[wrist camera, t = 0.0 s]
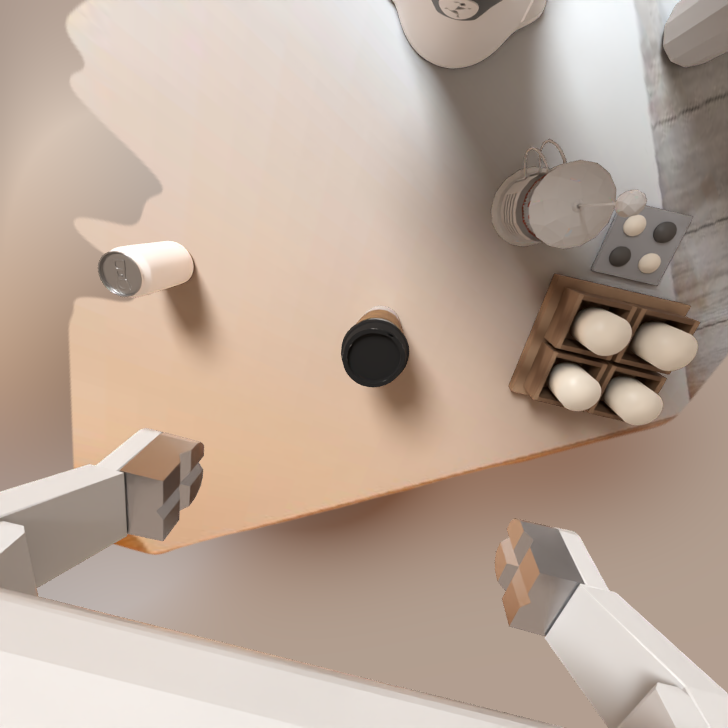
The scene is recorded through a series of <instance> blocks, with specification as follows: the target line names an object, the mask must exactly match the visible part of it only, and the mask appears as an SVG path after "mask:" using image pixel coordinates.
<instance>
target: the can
mask: <svg viewBox="0 0 728 728" xmlns="http://www.w3.org/2000/svg"><path fill="white" fill-rule="evenodd" d="M98 273H99V276H100V279H101V281H102V283H103V284H104V285H105V287H106V288H107V289H108V290H109V291H111V292H112V293H114V294H116V295H118V296H121V297H133V298H136V297H141V296H145V295H148V294H152V293H155V292H158V291H161V290H164V289H167V288H170V287H173V286H177V285H180V284H182V283H185V282H186V281H188V280H189V279H190V277H191V276H192V273H193V261H192V258H191V256H190V254H189V252H188V251H187V250H186V249H185V248H184V247H183V246H182V245H180V244H179V243H176V242H173V241H162V242H153V243H145V244H136V245H128V246H121V247H117V248H114V249H112V250H111V251H110V252H107V253H105V254H104V255H103V256H102V257H101V259H100V260H99V263H98Z"/></svg>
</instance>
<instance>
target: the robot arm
mask: <svg viewBox="0 0 728 728" xmlns="http://www.w3.org/2000/svg"><path fill="white" fill-rule="evenodd" d="M392 1H393V2H394V4H395V6H396V9H397V11H398V15H399V19H400V22H401V25H402V28H403V31H404V33H405V35H406V37H407V39H408V41H409V42H410V44H411V45H412V47H413V48H414V49H415V50H416V52H417V53H418V54H419V55H421V56H422V57H423V58H424V59H426V60H427V61H429V62H431V63H433V64H435V65H438V66H441V67H445V68H463V67H467V66H471V65H474V64H476V63H478V62H480V61H482V60H484V59H485V58H487V57H488V56H490V55H491V54H492V53H494V52H495V51H496V50H497V49H498V48H499V47H500V46H501V45H502V44H503V43H504V42H505V41H506V40H507V39H508V37H509V36H510V35H511V34H512V33H514V32H515V31H516V30H518V29H520V28H522V27H524V26H526V25H528V24H530V23H532V22H533V21H535V20H536V19H537V18H539V17H540V15H541V14H542V12H543V10H544V8H545V5H546V1H547V0H392ZM203 456H204V445H203V444H202V443H201V442H199V441H195V440H191V439H187V438H184V437H180V436H176V435H172V434H169V433H163V432H160V431H156V430H152V429H148V428H144V429H140V430H139V431H138V432H136V433H135V434H134V435H133V436H131V437H130V438H129V439H128V440H126V441H125V442H124V443H123V444H122V445H120V446H119V447H118V448H117V449H115V450H114V451H113V452H112V453H110V454H109V455H108V456H107V457H105V458H104V459H103V460H102V461H101V462H99V463H98V464H97V465H96V466H95V465H90V464H88V465H85V466H82V467H79V468H75V469H72V470H69V471H66V472H62V473H59V474H56V475H53V476H50V477H46V478H43V479H40V480H37V481H34V482H30V483H27V484H24V485H20V486H17V487H14V488H11V489H8V490H5V491H1V492H0V728H565V727H561V726H557V725H553V724H549V723H545V722H541V721H537V720H533V719H529V718H525V717H520V716H517V715H513V714H509V713H505V712H500V711H497V710H492V709H488V708H484V707H480V706H476V705H472V704H468V703H464V702H460V701H456V700H452V699H448V698H444V697H440V696H436V695H432V694H427V693H424V692H419V691H416V690H412V689H407V688H404V687H399V686H395V685H391V684H387V683H383V682H379V681H375V680H371V679H367V678H363V677H359V676H355V675H351V674H347V673H343V672H339V671H335V670H331V669H327V668H323V667H319V666H315V665H311V664H306V663H303V662H299V661H295V660H291V659H287V658H283V657H279V656H275V655H271V654H267V653H263V652H259V651H255V650H251V649H247V648H243V647H239V646H235V645H231V644H227V643H223V642H219V641H215V640H211V639H207V638H203V637H199V636H195V635H191V634H187V633H183V632H179V631H175V630H171V629H167V628H163V627H158V626H155V625H151V624H147V623H143V622H139V621H135V620H131V619H127V618H123V617H119V616H114V615H111V614H107V613H103V612H99V611H95V610H90V609H87V608H83V607H79V606H74V605H70V604H66V603H62V602H58V601H54V600H50V599H46V598H42V597H38V593H37V588H38V587H40V586H41V585H43V584H45V583H47V582H48V581H50V580H52V579H53V578H55V577H57V576H59V575H60V574H62V573H64V572H65V571H67V570H69V569H71V568H72V567H74V566H76V565H77V564H79V563H81V562H83V561H84V560H86V559H88V558H90V557H91V556H93V555H95V554H97V553H98V552H100V551H102V550H103V549H105V548H107V547H109V546H110V545H112V544H114V543H116V542H117V541H119V540H121V539H122V538H124V537H126V536H127V534H131V535H136V536H141V537H145V538H150V539H155V540H159V541H164V539H165V538H166V537H167V535H168V534H169V533H170V531H171V530H172V529H173V527H174V526H175V525H176V523H177V522H178V521H179V511H180V510H182V509H184V508H186V507H188V506H190V504H191V503H192V501H193V500H194V499H195V497H196V495H197V493H198V490H199V488H200V486H201V482H202V478H203V469H202V467H201V466H200V464H199V461H200V460H201V459H202V457H203ZM507 531H508V534H509V537H508V538H507V539H505V540H503V541H501V542H500V544H499V547H498V549H497V551H496V557H495V572H496V576H497V581H498V582H499V583H500V585H501V586H502V587H503V588H504V590H505V591H506V592H505V594H504V596H503V598H502V600H503V604H504V608H505V612H506V616H507V620H508V624H509V626H510V627H514V628H517V629H521V630H524V631H528V632H531V633H535V634H539V635H542V636H546V637H545V639H546V640H547V642H548V644H549V645H550V646H551V648H552V649H553V651H554V652H555V653H556V655H557V656H558V657H559V659H560V660H561V662H562V663H563V665H564V666H565V668H566V669H567V670H568V672H569V673H570V675H571V676H572V677H573V679H574V680H575V681H576V683H577V684H578V686H579V687H580V689H581V690H582V691H583V693H584V694H585V696H586V697H587V699H588V700H589V701H590V703H591V704H592V706H593V707H594V708H595V710H596V711H597V713H598V714H599V716H600V717H601V718H602V720H603V721H604V723H605V724H606V725H607V727H608V728H728V693H726V692H725V691H724V690H723V689H722V688H721V687H720V686H719V685H718V684H716V683H715V682H714V681H713V680H712V679H711V678H710V677H709V676H708V675H707V674H705V673H704V672H703V671H702V670H701V669H700V668H699V667H698V666H697V665H695V664H694V663H693V662H692V661H691V660H690V659H689V658H688V657H687V656H686V655H684V654H683V653H682V652H681V651H680V650H679V649H678V648H677V647H676V646H674V645H673V644H672V643H671V642H670V641H669V640H668V639H667V638H665V637H664V636H663V635H662V634H661V633H660V632H659V631H658V630H657V629H656V628H655V627H653V626H652V625H651V624H650V623H649V622H648V621H647V620H646V619H644V618H643V617H642V616H641V615H640V614H639V613H638V612H637V611H636V610H635V609H634V608H632V607H631V606H630V605H629V604H628V603H627V602H626V601H625V600H623V599H622V598H621V597H620V596H619V595H618V594H617V593H616V592H611V591H609V589H608V588H607V586H606V584H605V582H604V580H603V578H602V577H601V575H600V573H599V571H598V569H597V567H596V566H595V564H594V562H593V560H592V559H591V557H590V555H589V553H588V551H587V549H586V547H585V545H584V544H583V542H582V540H581V538H580V536H579V535H578V534H577V533H576V532H574V531H571V530H566V529H561V528H557V527H550V526H546V525H542V524H538V523H533V522H529V521H525V520H521V519H516V518H514V519H513V520H512V521H511V522H510V524H509V526H508V528H507Z"/></svg>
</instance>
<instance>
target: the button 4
mask: <svg viewBox="0 0 728 728" xmlns="http://www.w3.org/2000/svg"><path fill="white" fill-rule="evenodd" d="M629 348H630V350H631V351H632V352H633V353H634V354H636V355H637V356H639V357H641V358H642V359H644V360H646V361H647V362H649V363H650V364H652V365H654V366H655V367H657V368H659V369H661V370H664V371H674V370H678V369H681V368H683V367H685V366H686V365H688V364H689V363H690V362H691V361H692V360H693V359H694V357H695V355H696V353H697V350H698V343H697V341H696V339H695V338H694V337H693V336H692V335H691V334H689V333H686V332H684V331H682V330H679V329H677V328H675V327H672V326H670V325H668V324H665V323H663V322H660V321H648V322H645V323H642V324H641V325H639V326H638V328H637V330H636V332H635V333H634V335H633V337H632V339H631V341H630V343H629Z"/></svg>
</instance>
